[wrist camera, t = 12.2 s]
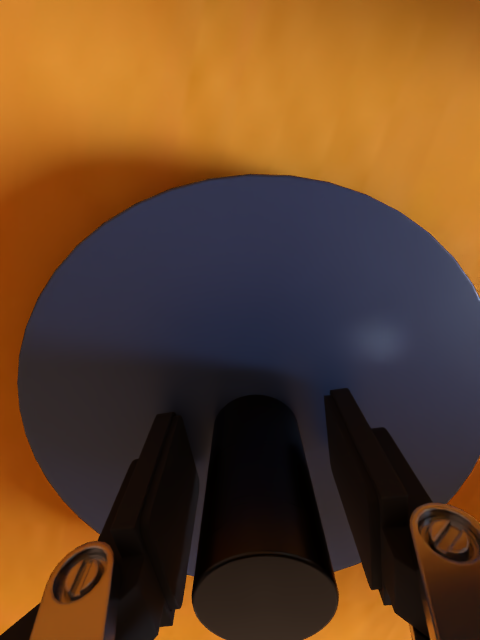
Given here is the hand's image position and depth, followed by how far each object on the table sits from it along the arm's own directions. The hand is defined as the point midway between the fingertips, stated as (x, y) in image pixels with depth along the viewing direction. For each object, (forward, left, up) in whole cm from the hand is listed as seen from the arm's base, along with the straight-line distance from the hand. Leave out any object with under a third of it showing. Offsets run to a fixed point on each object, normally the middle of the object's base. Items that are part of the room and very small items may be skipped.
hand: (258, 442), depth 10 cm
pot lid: (0, 0, -1) cm, 1 cm away
